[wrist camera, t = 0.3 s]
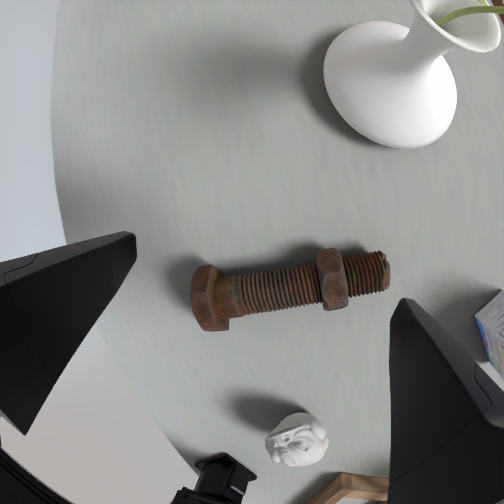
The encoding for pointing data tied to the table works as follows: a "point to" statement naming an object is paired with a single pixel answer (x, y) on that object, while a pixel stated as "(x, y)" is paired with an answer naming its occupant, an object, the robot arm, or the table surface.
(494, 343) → the medicine box
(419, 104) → the flower in vase
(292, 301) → the bolt
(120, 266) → the robot arm
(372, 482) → the socket board
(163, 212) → the table surface
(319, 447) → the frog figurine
